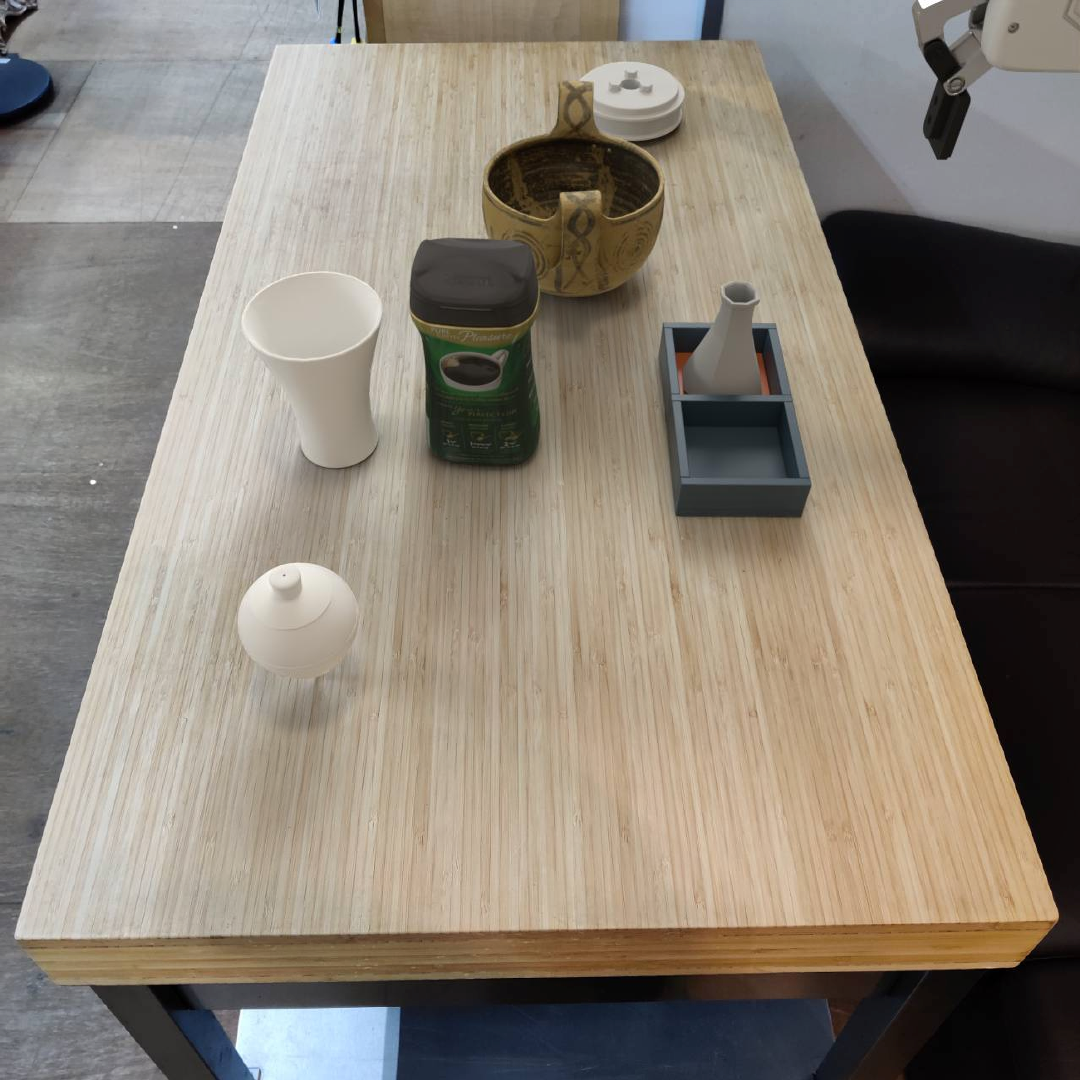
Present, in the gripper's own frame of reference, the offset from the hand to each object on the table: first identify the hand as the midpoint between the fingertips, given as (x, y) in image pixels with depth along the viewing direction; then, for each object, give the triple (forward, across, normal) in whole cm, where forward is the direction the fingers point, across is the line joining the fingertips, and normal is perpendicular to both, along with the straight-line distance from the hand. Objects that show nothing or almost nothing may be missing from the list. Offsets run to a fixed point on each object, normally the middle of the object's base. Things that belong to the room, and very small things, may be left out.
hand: (1015, 148), depth 60 cm
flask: (+28, -13, +8) cm, 32 cm away
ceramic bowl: (+28, -26, +25) cm, 46 cm away
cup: (+28, -46, +2) cm, 54 cm away
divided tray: (+28, -13, +4) cm, 31 cm away
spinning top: (+28, -45, -21) cm, 57 cm away
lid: (+28, -19, +55) cm, 65 cm away
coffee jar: (+28, -34, +3) cm, 44 cm away
